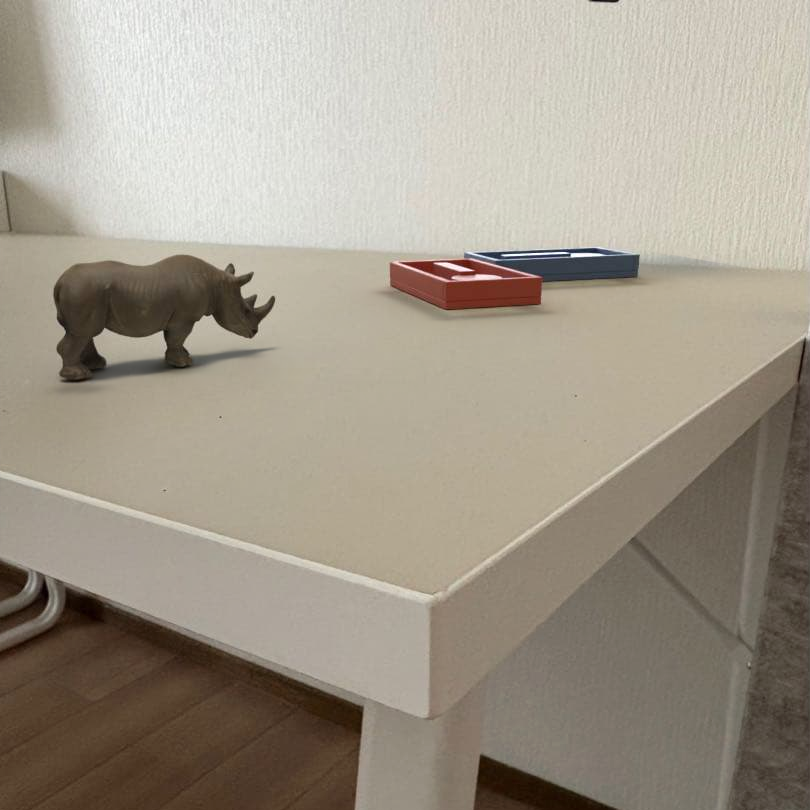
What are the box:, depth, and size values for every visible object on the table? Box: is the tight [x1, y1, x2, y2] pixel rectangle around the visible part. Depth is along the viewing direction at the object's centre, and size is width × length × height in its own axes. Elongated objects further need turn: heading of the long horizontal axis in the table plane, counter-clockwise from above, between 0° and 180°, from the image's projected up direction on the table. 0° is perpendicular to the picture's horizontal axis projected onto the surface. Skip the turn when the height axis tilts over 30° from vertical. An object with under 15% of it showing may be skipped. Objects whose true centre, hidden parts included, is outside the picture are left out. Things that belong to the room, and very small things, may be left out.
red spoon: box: [433, 262, 502, 281], centre depth 76 cm, size 11×4×2 cm, turn 18°
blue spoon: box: [501, 252, 603, 260], centre depth 87 cm, size 11×4×2 cm, turn 108°
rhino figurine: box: [52, 253, 276, 381], centre depth 51 cm, size 4×14×6 cm, turn 126°
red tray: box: [389, 258, 543, 310], centre depth 76 cm, size 15×8×2 cm, turn 18°
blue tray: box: [463, 246, 641, 283], centre depth 87 cm, size 15×8×2 cm, turn 108°
